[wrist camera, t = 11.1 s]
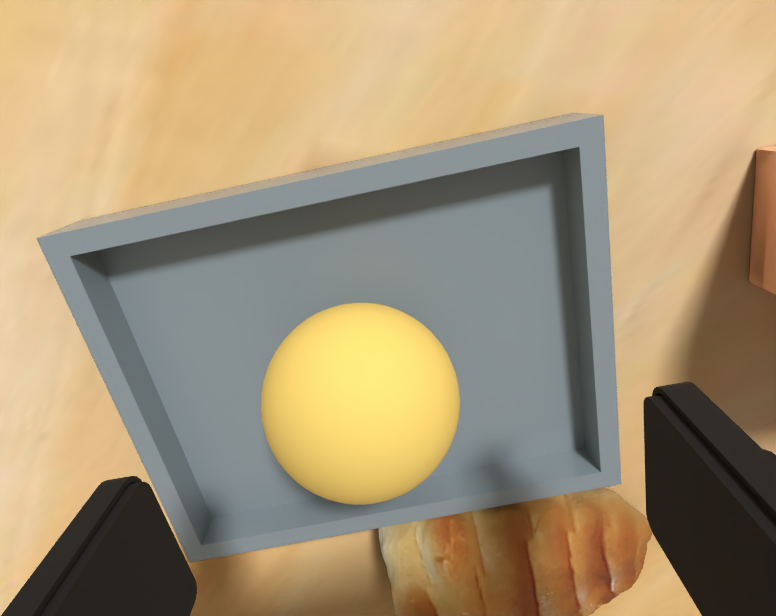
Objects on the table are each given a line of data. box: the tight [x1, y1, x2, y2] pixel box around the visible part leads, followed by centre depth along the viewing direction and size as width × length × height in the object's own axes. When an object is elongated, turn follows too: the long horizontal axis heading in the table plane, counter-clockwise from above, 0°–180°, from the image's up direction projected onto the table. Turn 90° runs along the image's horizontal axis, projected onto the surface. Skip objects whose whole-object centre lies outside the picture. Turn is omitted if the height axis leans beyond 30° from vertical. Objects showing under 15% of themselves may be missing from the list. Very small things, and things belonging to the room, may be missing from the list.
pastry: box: [378, 487, 652, 616], centre depth 18 cm, size 9×7×4 cm
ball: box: [261, 303, 460, 505], centre depth 13 cm, size 5×5×5 cm
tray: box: [36, 113, 621, 562], centre depth 15 cm, size 14×11×2 cm
